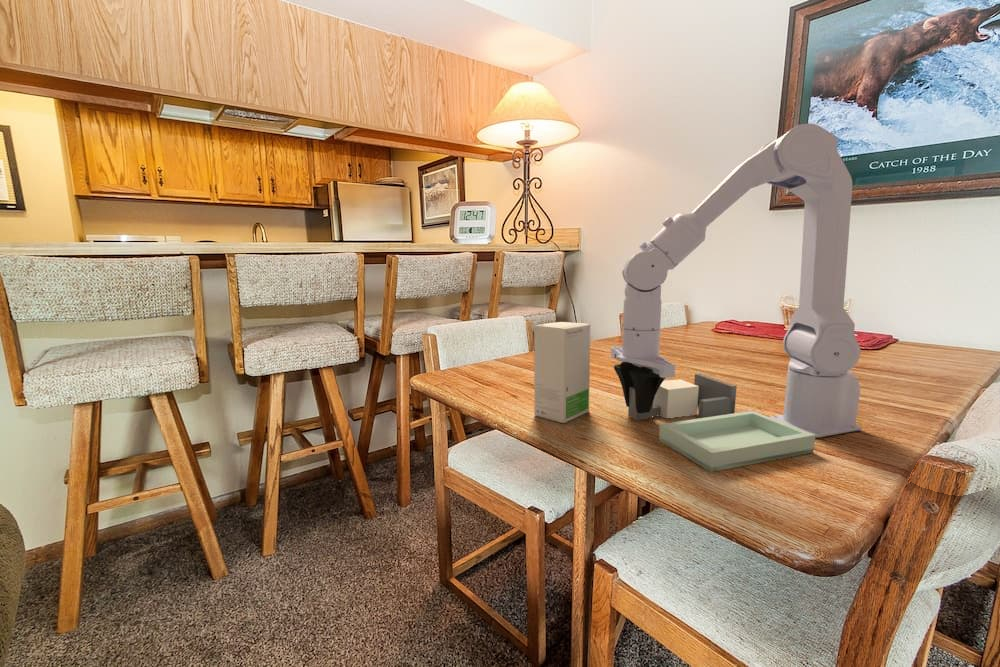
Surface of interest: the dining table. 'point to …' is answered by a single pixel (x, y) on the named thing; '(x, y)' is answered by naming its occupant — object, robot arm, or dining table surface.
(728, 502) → the dining table surface
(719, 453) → the tray
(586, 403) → the skincare box
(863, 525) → the dining table surface
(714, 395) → the bay
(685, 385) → the joined block pair
